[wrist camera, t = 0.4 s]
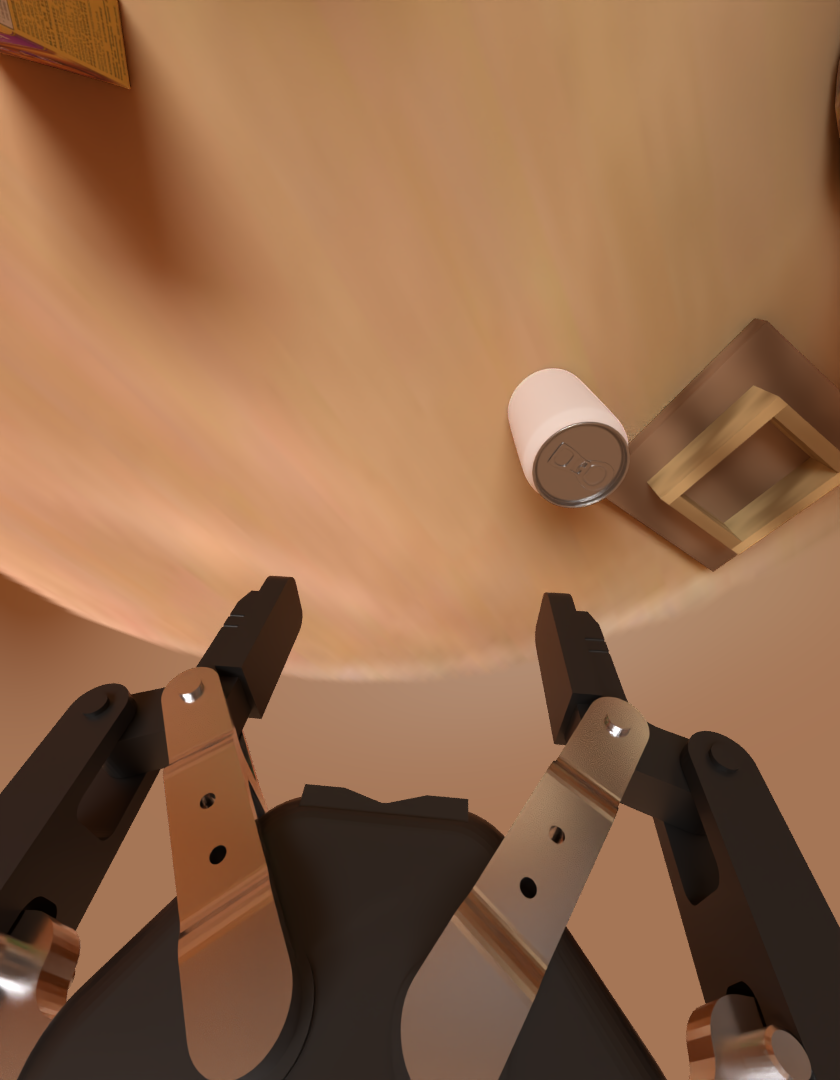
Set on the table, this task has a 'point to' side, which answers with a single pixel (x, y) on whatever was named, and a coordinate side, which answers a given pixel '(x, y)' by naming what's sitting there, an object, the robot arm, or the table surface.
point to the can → (567, 439)
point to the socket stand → (736, 450)
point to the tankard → (838, 99)
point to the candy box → (67, 36)
